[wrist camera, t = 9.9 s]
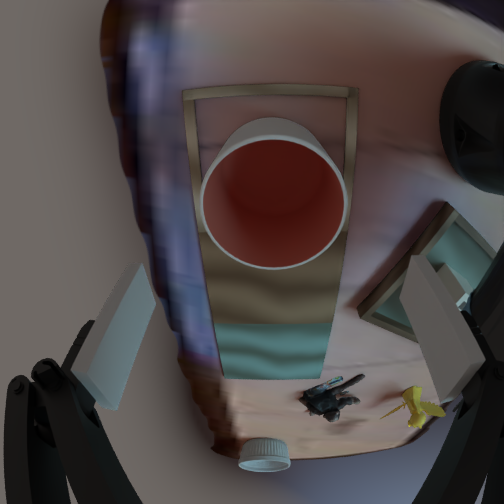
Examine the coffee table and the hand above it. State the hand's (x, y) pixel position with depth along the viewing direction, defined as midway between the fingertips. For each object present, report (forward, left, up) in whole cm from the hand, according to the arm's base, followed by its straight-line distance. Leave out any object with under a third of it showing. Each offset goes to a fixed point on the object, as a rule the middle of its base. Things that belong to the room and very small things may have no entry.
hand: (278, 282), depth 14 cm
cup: (0, 0, -17) cm, 17 cm away
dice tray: (+1, +28, -17) cm, 32 cm away
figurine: (+26, +48, -17) cm, 57 cm away
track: (+12, +7, -17) cm, 22 cm away
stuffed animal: (+30, +30, -18) cm, 46 cm away
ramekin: (+61, +34, -17) cm, 72 cm away
